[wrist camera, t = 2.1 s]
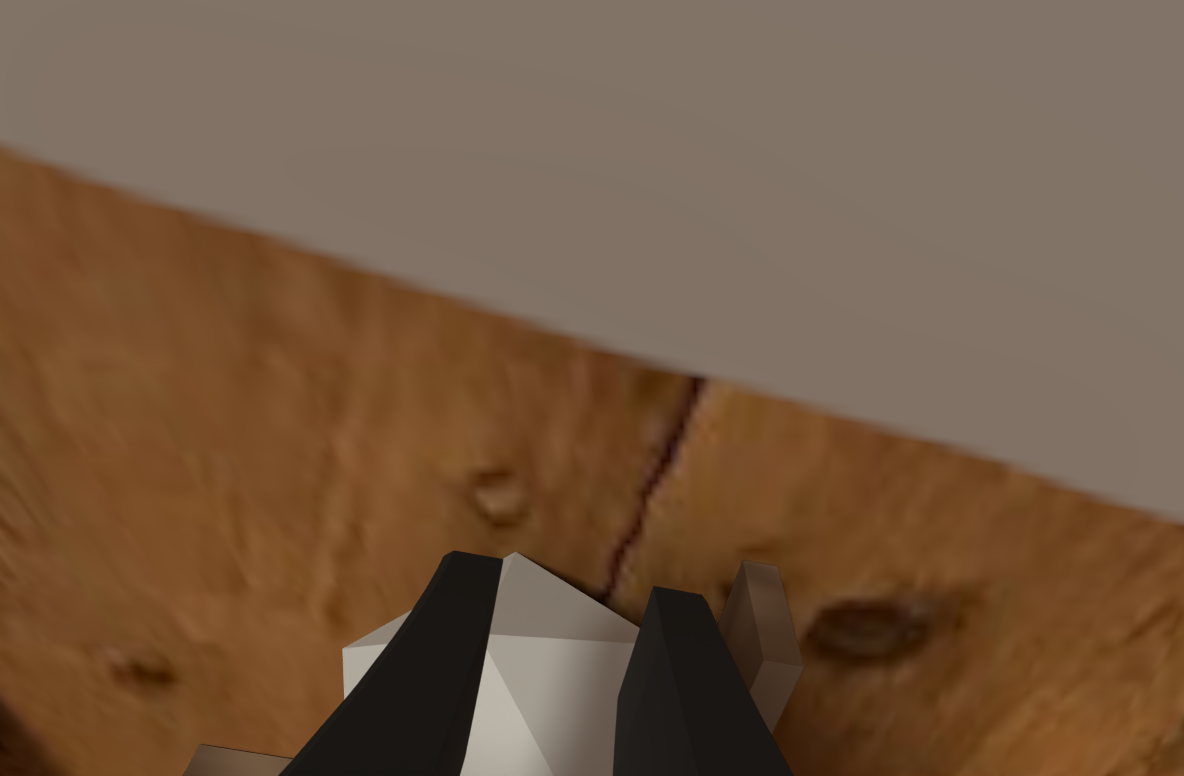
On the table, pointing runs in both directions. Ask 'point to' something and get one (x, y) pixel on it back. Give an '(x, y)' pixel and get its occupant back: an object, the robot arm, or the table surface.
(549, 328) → the table surface
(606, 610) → the die
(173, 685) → the table surface
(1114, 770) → the table surface
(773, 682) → the wooden l-shaped bracket
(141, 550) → the table surface
